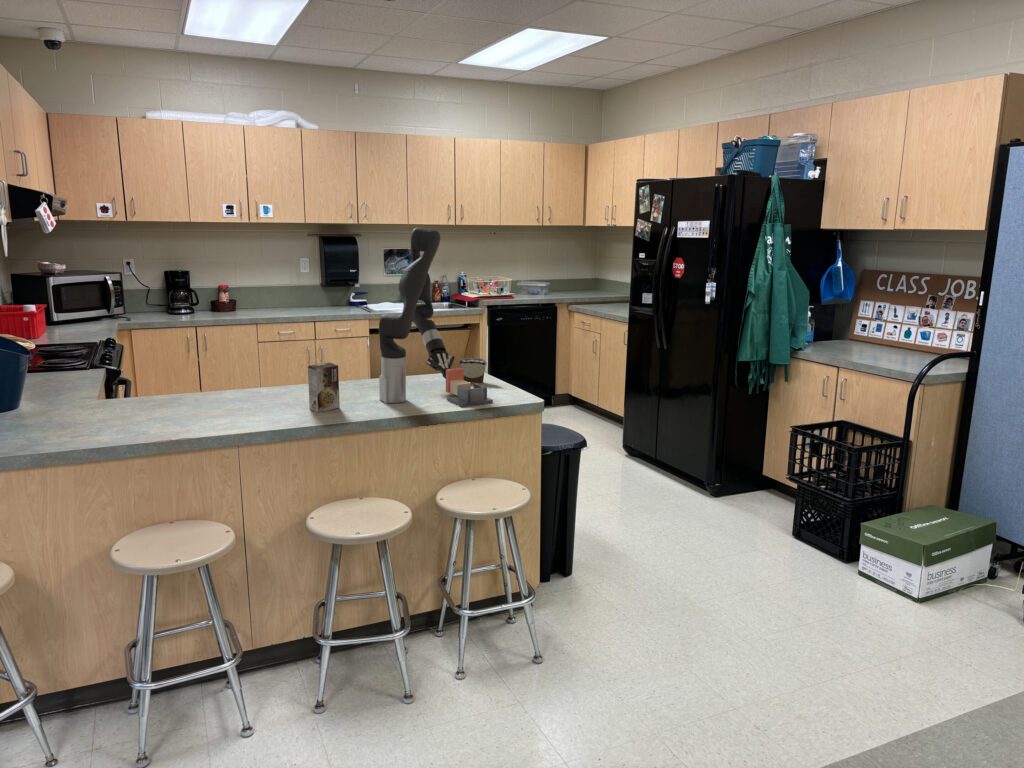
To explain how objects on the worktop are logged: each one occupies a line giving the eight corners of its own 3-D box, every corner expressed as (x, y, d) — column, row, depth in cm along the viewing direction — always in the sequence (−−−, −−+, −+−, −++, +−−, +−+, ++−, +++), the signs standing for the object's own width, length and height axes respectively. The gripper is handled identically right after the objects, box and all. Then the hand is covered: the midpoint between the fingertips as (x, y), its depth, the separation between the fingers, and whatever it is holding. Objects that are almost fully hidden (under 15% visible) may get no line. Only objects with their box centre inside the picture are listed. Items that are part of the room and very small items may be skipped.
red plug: (456, 396, 274) (457, 374, 272) (445, 391, 282) (445, 369, 280) (472, 394, 278) (472, 372, 276) (460, 389, 286) (461, 368, 283)
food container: (488, 380, 310) (488, 358, 307) (486, 383, 304) (486, 361, 301) (460, 379, 311) (460, 356, 308) (458, 382, 305) (458, 359, 303)
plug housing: (461, 407, 265) (461, 390, 264) (447, 400, 274) (447, 384, 273) (492, 403, 273) (493, 386, 272) (477, 396, 282) (478, 380, 280)
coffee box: (330, 404, 263) (329, 362, 259) (340, 408, 259) (339, 365, 255) (308, 408, 257) (307, 365, 253) (317, 412, 252) (316, 368, 249)
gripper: (422, 338, 287) (436, 374, 280) (450, 336, 294) (465, 371, 287) (416, 349, 292) (430, 384, 285) (444, 347, 300) (458, 381, 293)
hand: (447, 377), depth 286 cm, fingers closed
